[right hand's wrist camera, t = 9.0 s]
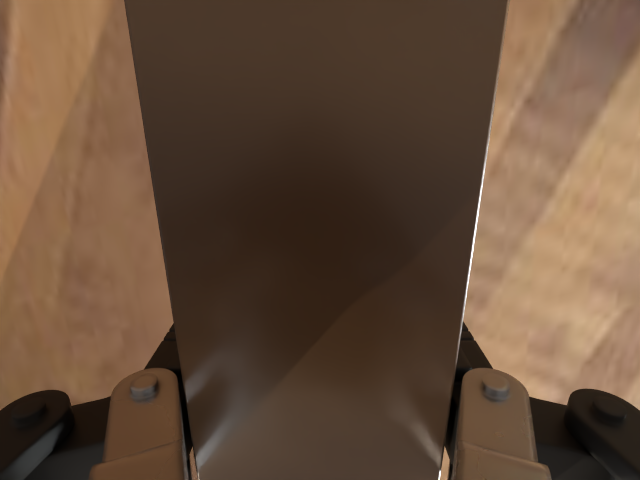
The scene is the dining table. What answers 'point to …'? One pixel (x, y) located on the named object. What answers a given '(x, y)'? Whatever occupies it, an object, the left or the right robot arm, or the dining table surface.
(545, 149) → the dining table surface
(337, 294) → the bar
